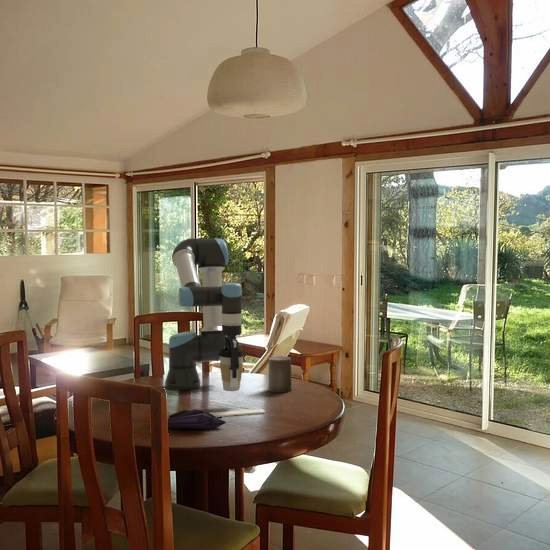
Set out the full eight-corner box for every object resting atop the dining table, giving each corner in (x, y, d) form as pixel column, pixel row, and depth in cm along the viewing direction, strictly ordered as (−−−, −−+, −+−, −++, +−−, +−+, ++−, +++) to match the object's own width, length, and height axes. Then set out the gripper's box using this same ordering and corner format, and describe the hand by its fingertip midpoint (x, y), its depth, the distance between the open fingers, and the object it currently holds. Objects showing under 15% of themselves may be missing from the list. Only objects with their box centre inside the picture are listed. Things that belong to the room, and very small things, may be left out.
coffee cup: (248, 387, 237) (248, 348, 236) (238, 393, 228) (238, 353, 227) (224, 385, 240) (224, 346, 239) (214, 391, 231) (214, 351, 230)
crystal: (161, 414, 201) (222, 409, 201) (168, 408, 213) (226, 404, 212) (163, 436, 201) (224, 431, 201) (170, 429, 212) (227, 425, 212)
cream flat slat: (197, 415, 222) (197, 413, 222) (262, 410, 228) (262, 409, 228) (199, 418, 218) (199, 416, 218) (265, 413, 225) (265, 411, 225)
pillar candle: (295, 390, 260) (295, 355, 259) (276, 393, 254) (276, 357, 254) (282, 386, 268) (282, 352, 268) (263, 389, 263) (263, 354, 262)
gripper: (247, 328, 223) (247, 389, 224) (235, 320, 243) (235, 376, 245) (227, 328, 221) (226, 390, 222) (216, 320, 242) (216, 377, 243)
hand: (231, 383), depth 234 cm, fingers closed on coffee cup, 9 cm apart
